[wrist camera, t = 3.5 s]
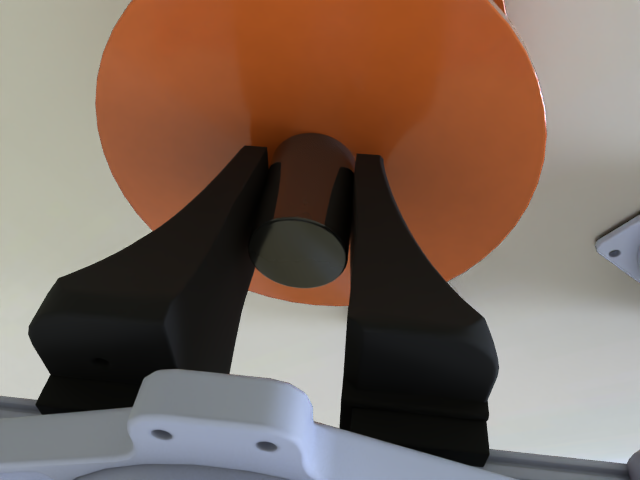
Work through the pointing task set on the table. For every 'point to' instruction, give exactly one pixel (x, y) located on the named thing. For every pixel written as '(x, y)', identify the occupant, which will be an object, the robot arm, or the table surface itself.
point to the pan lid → (327, 123)
